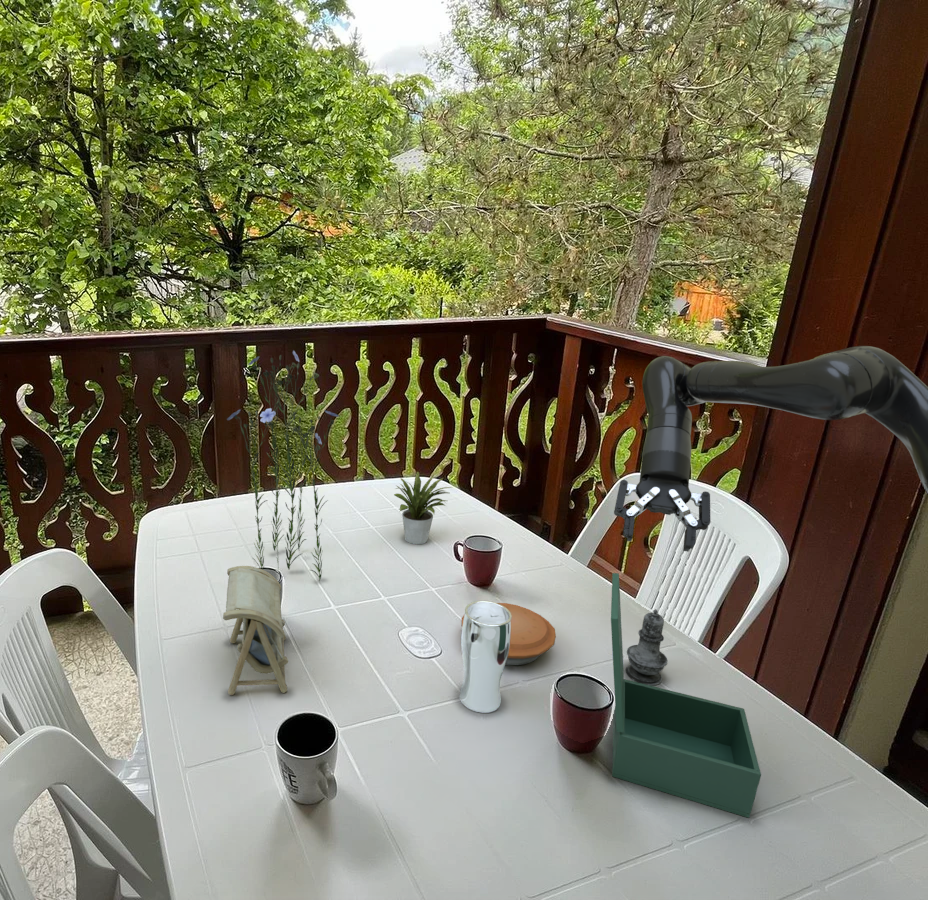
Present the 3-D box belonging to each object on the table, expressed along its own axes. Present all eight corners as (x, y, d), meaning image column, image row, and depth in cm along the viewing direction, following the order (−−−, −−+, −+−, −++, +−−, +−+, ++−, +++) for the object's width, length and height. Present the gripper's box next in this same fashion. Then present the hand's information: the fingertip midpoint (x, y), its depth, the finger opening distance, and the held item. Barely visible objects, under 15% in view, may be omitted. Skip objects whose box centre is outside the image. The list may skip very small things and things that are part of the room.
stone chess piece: (615, 667, 103) (626, 603, 100) (642, 660, 105) (654, 596, 102) (644, 690, 98) (657, 623, 94) (672, 681, 100) (686, 615, 96)
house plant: (422, 562, 137) (426, 492, 132) (372, 542, 146) (374, 475, 141) (457, 540, 147) (462, 474, 142) (409, 523, 156) (412, 460, 151)
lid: (618, 573, 87) (612, 572, 87) (618, 618, 76) (610, 618, 76) (623, 675, 90) (617, 674, 91) (623, 732, 80) (616, 731, 80)
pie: (466, 613, 118) (468, 589, 117) (553, 629, 113) (557, 605, 112) (453, 662, 104) (455, 636, 103) (552, 683, 100) (556, 656, 98)
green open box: (734, 748, 87) (744, 708, 85) (749, 818, 76) (761, 774, 74) (613, 715, 93) (620, 678, 91) (612, 776, 82) (619, 735, 80)
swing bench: (289, 694, 97) (287, 609, 92) (225, 698, 96) (221, 612, 91) (285, 637, 111) (284, 561, 106) (230, 640, 110) (226, 563, 105)
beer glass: (447, 698, 96) (453, 611, 92) (474, 678, 101) (482, 594, 96) (485, 722, 91) (495, 632, 87) (512, 700, 96) (522, 613, 91)
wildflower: (327, 601, 122) (329, 369, 108) (216, 586, 127) (204, 362, 113) (351, 549, 143) (355, 349, 129) (254, 538, 148) (248, 344, 134)
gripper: (624, 443, 111) (613, 528, 105) (717, 454, 106) (712, 545, 99) (619, 462, 117) (609, 544, 111) (707, 474, 112) (702, 560, 105)
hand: (657, 544), depth 105 cm, fingers open, 8 cm apart
